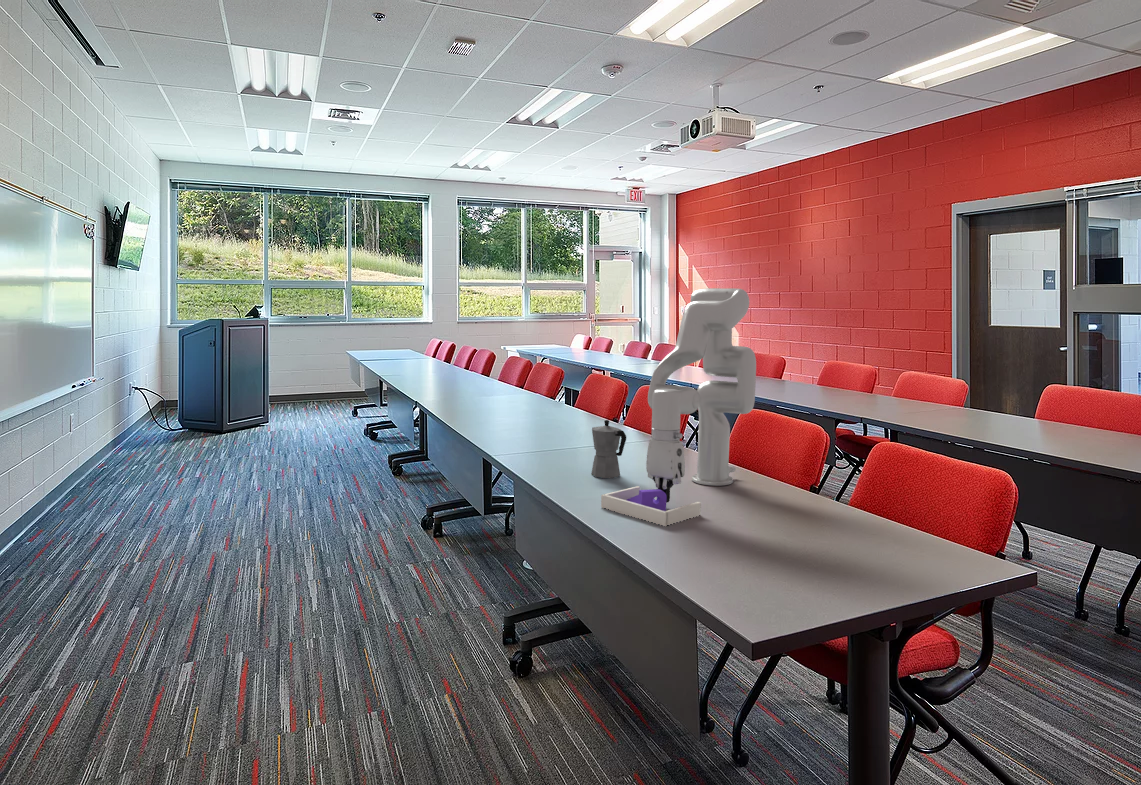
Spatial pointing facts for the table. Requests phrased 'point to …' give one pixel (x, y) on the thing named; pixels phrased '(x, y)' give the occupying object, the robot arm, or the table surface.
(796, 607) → the table surface
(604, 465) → the coffeepot
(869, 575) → the table surface
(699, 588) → the table surface
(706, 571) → the table surface
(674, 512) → the white u-shaped fence
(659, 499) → the bracket
